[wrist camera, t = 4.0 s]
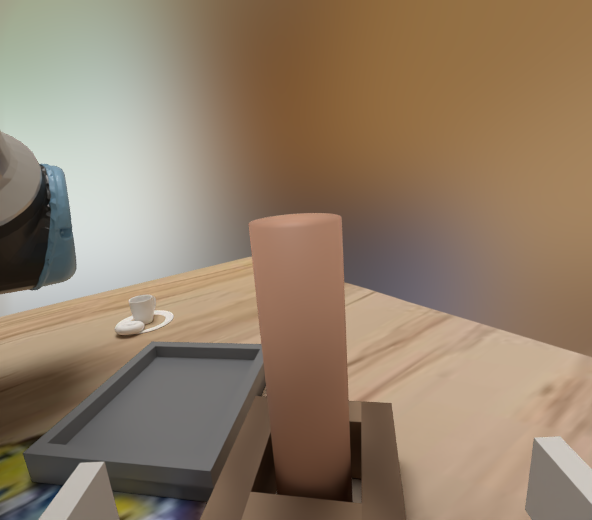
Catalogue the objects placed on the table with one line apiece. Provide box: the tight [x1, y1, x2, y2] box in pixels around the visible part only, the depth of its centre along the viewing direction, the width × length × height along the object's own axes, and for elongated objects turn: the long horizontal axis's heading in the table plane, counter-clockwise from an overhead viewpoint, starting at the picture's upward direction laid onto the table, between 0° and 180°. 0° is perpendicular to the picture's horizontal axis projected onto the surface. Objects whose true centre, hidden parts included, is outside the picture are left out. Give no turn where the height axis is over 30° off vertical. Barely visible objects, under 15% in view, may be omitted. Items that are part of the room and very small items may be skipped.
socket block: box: [200, 396, 406, 520], centre depth 21 cm, size 10×10×4 cm
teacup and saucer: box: [115, 295, 174, 335], centre depth 51 cm, size 9×8×4 cm
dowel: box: [249, 213, 352, 502], centre depth 19 cm, size 4×4×18 cm
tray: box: [23, 342, 266, 502], centre depth 31 cm, size 14×16×2 cm
